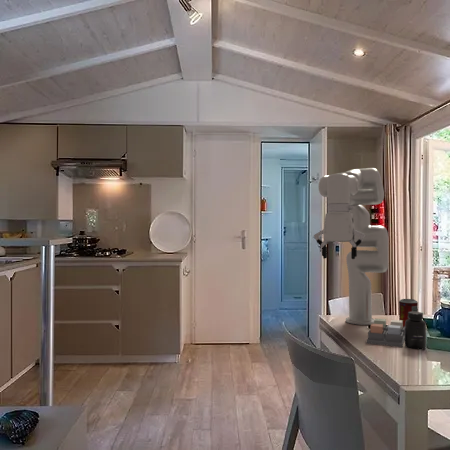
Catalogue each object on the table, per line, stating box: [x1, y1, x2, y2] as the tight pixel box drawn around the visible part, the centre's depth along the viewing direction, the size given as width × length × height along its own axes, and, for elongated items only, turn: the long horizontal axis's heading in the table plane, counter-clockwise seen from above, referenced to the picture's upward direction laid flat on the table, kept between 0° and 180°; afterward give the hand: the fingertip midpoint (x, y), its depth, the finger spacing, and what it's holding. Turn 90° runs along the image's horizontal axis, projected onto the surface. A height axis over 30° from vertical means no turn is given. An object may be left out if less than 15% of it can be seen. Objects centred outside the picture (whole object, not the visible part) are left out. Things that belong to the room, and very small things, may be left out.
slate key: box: [388, 324, 401, 335], centre depth 158 cm, size 4×4×2 cm
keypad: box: [366, 324, 405, 348], centre depth 164 cm, size 20×12×3 cm, turn 154°
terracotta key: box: [370, 324, 383, 334], centre depth 161 cm, size 4×4×2 cm
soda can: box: [398, 298, 419, 326], centre depth 177 cm, size 7×7×12 cm
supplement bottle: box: [404, 311, 427, 350], centre depth 152 cm, size 7×7×12 cm
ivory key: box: [390, 319, 403, 329], centre depth 167 cm, size 4×4×2 cm
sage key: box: [374, 318, 387, 328], centre depth 170 cm, size 4×4×2 cm
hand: (339, 258), depth 152 cm, fingers open, 9 cm apart
